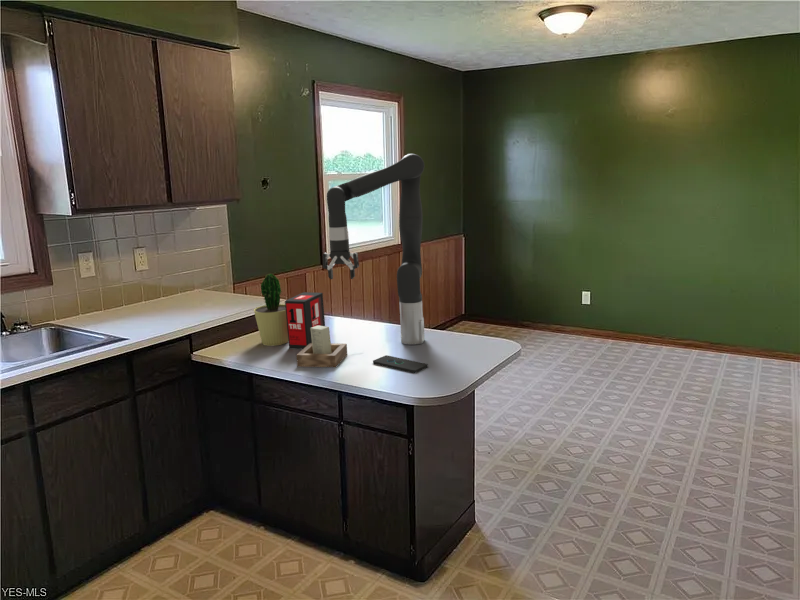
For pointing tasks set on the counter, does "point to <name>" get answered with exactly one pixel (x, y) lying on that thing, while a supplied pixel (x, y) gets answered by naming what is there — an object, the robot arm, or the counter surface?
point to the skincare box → (321, 340)
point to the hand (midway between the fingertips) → (341, 278)
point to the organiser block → (321, 356)
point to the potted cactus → (272, 314)
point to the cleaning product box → (303, 318)
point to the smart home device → (400, 364)
